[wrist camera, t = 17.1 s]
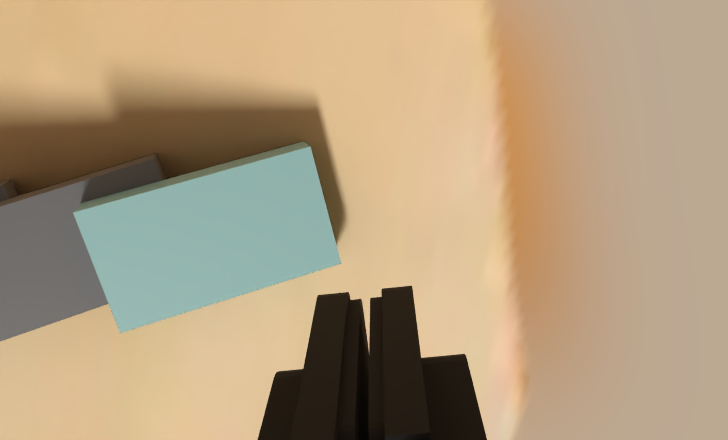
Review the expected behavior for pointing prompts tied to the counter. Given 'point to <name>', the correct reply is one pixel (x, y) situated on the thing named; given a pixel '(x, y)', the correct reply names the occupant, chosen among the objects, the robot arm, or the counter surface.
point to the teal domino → (208, 235)
